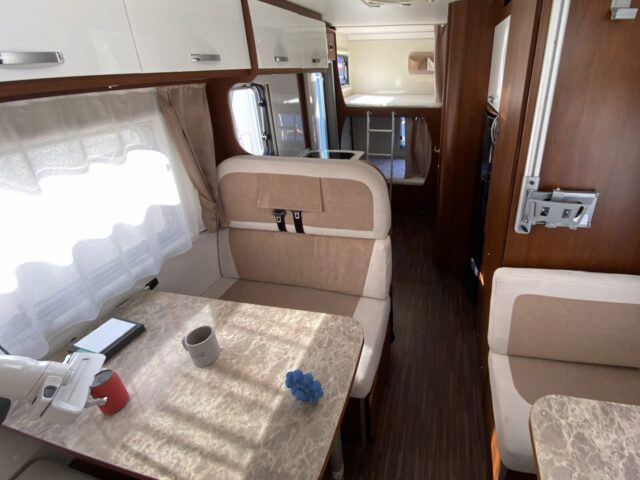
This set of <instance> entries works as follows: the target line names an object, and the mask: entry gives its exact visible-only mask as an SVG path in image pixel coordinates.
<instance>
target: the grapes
mask: <svg viewBox="0 0 640 480" xmlns="http://www.w3.org/2000/svg"><path fill="white" fill-rule="evenodd" d="M284 384H285V387H286V388H287V389H290V393H291V396H294V397H295V399H296V401H297V402H300V401H302V402H307V401H310V402H311V403H316V402H318V401H319V399H321V398H323V396H324V394H325V393H324V389H323V388H322V383H321V381H320V380H319V379H315V380H314V376H313V374H312V373H311V372H306V373H304V372H303V371H302V369H295V370H294V371H293V370H290V371H287V372H286V374H285V380H284Z"/></svg>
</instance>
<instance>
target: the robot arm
mask: <svg viewBox="0 0 640 480" xmlns="http://www.w3.org/2000/svg"><path fill="white" fill-rule="evenodd" d="M105 359H106V356H105V355H103V354H98V353H79V352H74V353H72V354H67V355H66V357H65V358H64V360H63V362H59V361H53V360H36V359H34V358H32V357H29V356H23V355H15V354H11V353H10V352H8V350H6V348H4V346H2V345H1V344H0V426H2V425H3V423H4V422H5V421H7V420H8V418H9V417H10V415H11V414H12V412H13V411H14V410H15V408H16V407H17V405H18V404H19V402H20V401H21V400H27V401H28V405H27V412H26V420H27V421H31V422H33V421H37V420H38V419H40V421H41V422H43V423H45V424H52V425H63V426H66V425H67V426H68V425H71V424H73V423H75V422H76V421H77V420H78V418H79V417H80V416H81V414H82V413H83V410H84V409H89V408H93V407H96V406H97V405H101V406H102V405H104V404H105V403H106V401H107V398H108V396H101V397H100V398H98V399H93V398H92V397H90V396H91V395H90V393H91V390H92V389H91V388H90V387H89V385H90V386H91V385H92V383H93V381H94V378H95V376H94V375H96V374H97V373H99V372H101V371H103V370H106V369H108V368H107V367H103V366H104V364H105V362H104V361H105ZM93 376H94V377H93Z"/></svg>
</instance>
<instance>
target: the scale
mask: <svg viewBox="0 0 640 480" xmlns="http://www.w3.org/2000/svg"><path fill="white" fill-rule="evenodd" d="M145 331H146V326H145V325H144V323H142V322H141V323H140V322H138V321H134V320H131V319H127V318H123V317H119V316H116V315H114V316H112V317H111V318H109V319H108V320H106V321H105V322H104V323H102V324H101V325H100V326H98V327H96V328H95V329H94V330H92V331H91V332H88V334H86V335H85V336H83V337H82V338H80V339H79V340H78V341H76V342H75V343H73V344H72V345H70V346H69V347H68V348H66V351H67V352H68V355H70V354H72V353H74V352H79V353H98V354H103V355H105V356H106V359H105V361H104V363H106V362H107V361H108V360H109V359H111V358H112V357H113V356H115V355H116V354H117V353H118V352H120V351H121V350H122V349H123V348H125V347H126V346H127V345H129V343H131V342H132V341H134V339H136V338H137V337H138V336H140V335H141V334H142V333H144V332H145Z"/></svg>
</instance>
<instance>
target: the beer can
mask: <svg viewBox="0 0 640 480" xmlns="http://www.w3.org/2000/svg"><path fill="white" fill-rule="evenodd" d="M94 376H95V378H94V381H93V383H92V385H91V386H90V385H89V387H90V388H91V389H92V390H91V393H90V395H89V396H91V398H93V399H92V400H94V399H98V398H100V397H101V396H108V398H107V401H106V403H105V404H104V405H102V406H101V405H96V406H97V407H98V409H99V410H100V412H101V413H102V414H103V415H106V416H109V415H112V414H113V415H114V414H115V413H117V412H119V411H120V410H122V408H124V407H125V406H126V405H127V404H128V402H129V399H130V394H129V392H128V390H127V388H126V387H125V384H124V383H123V380H122V379H121V378H120V375H119V374H118V373H117V372H116V371H114V370H113V369H111V368H107V369H106V370H103V371H101V372H99V373H97V374H96V375H94ZM94 376H93V377H94Z"/></svg>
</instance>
